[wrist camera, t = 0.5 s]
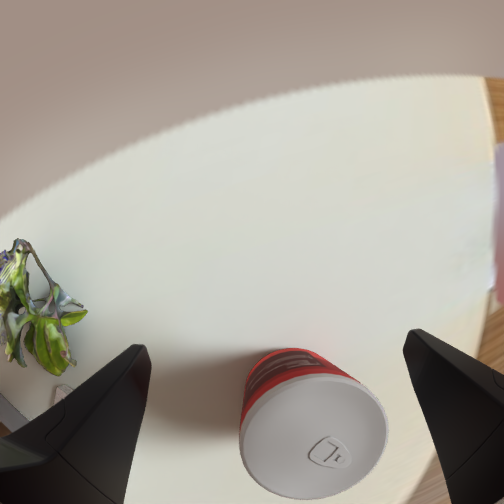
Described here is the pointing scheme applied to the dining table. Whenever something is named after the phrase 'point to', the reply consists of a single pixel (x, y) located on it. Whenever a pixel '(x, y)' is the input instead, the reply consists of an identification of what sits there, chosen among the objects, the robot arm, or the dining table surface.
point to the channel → (11, 415)
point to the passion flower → (33, 314)
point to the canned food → (308, 426)
